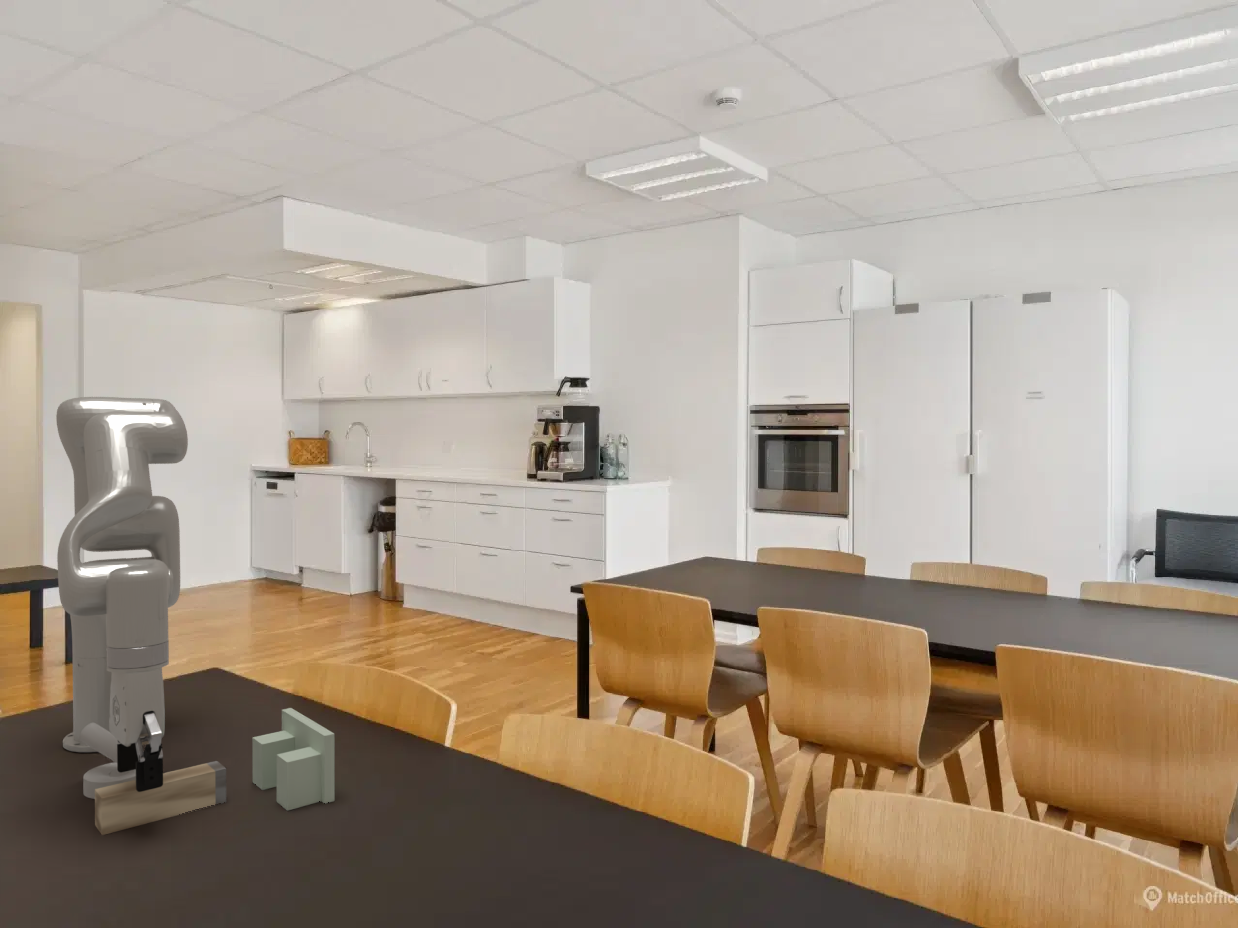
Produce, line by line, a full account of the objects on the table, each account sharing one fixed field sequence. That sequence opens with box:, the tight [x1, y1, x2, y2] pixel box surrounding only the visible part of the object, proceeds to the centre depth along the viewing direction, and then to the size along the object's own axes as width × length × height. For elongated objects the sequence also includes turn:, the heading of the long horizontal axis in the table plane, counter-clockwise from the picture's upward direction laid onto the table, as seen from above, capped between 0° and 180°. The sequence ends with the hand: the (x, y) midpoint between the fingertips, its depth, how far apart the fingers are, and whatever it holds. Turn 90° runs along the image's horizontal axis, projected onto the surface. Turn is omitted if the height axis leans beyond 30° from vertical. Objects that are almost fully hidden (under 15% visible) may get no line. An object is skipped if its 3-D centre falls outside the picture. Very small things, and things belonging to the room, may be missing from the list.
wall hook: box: [79, 723, 136, 800], centre depth 133 cm, size 9×10×10 cm
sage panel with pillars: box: [251, 707, 336, 812], centre depth 132 cm, size 16×6×10 cm, turn 43°
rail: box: [94, 760, 227, 836], centre depth 124 cm, size 4×16×5 cm, turn 132°
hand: (139, 778), depth 121 cm, fingers open, 9 cm apart
